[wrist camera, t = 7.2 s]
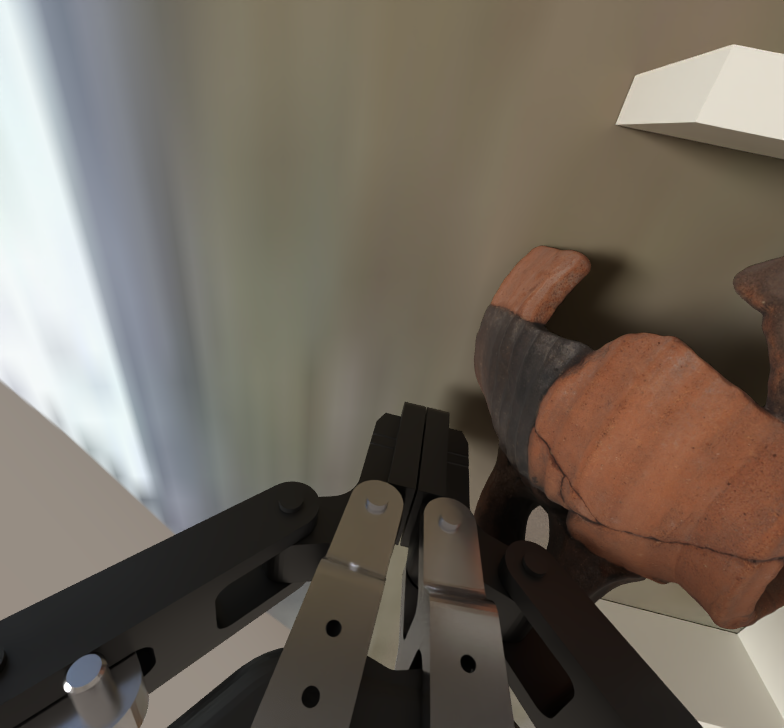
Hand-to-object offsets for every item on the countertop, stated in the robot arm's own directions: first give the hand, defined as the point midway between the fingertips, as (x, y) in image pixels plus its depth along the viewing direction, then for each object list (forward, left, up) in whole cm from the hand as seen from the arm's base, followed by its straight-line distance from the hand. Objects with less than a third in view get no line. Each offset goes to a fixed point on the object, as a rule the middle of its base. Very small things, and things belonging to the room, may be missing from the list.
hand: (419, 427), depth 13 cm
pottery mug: (+6, +2, -2) cm, 6 cm away
